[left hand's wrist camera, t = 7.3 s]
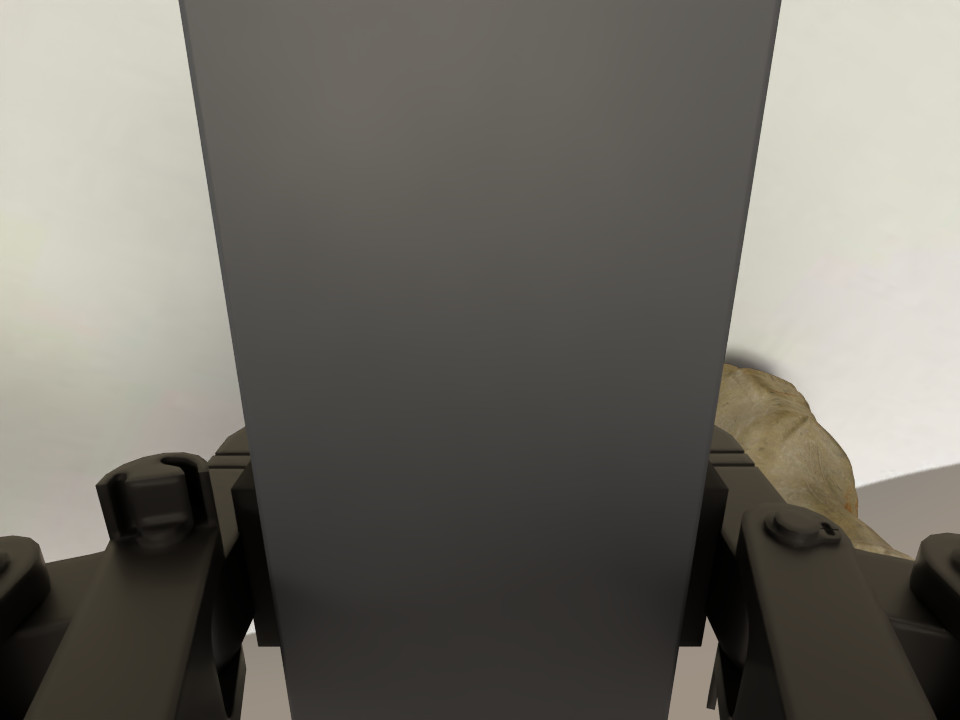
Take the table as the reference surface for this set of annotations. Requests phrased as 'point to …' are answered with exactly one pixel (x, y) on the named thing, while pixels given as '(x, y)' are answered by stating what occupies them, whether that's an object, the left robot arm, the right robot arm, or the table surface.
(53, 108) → the table surface
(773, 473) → the sculpture
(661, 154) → the beam
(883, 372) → the table surface
